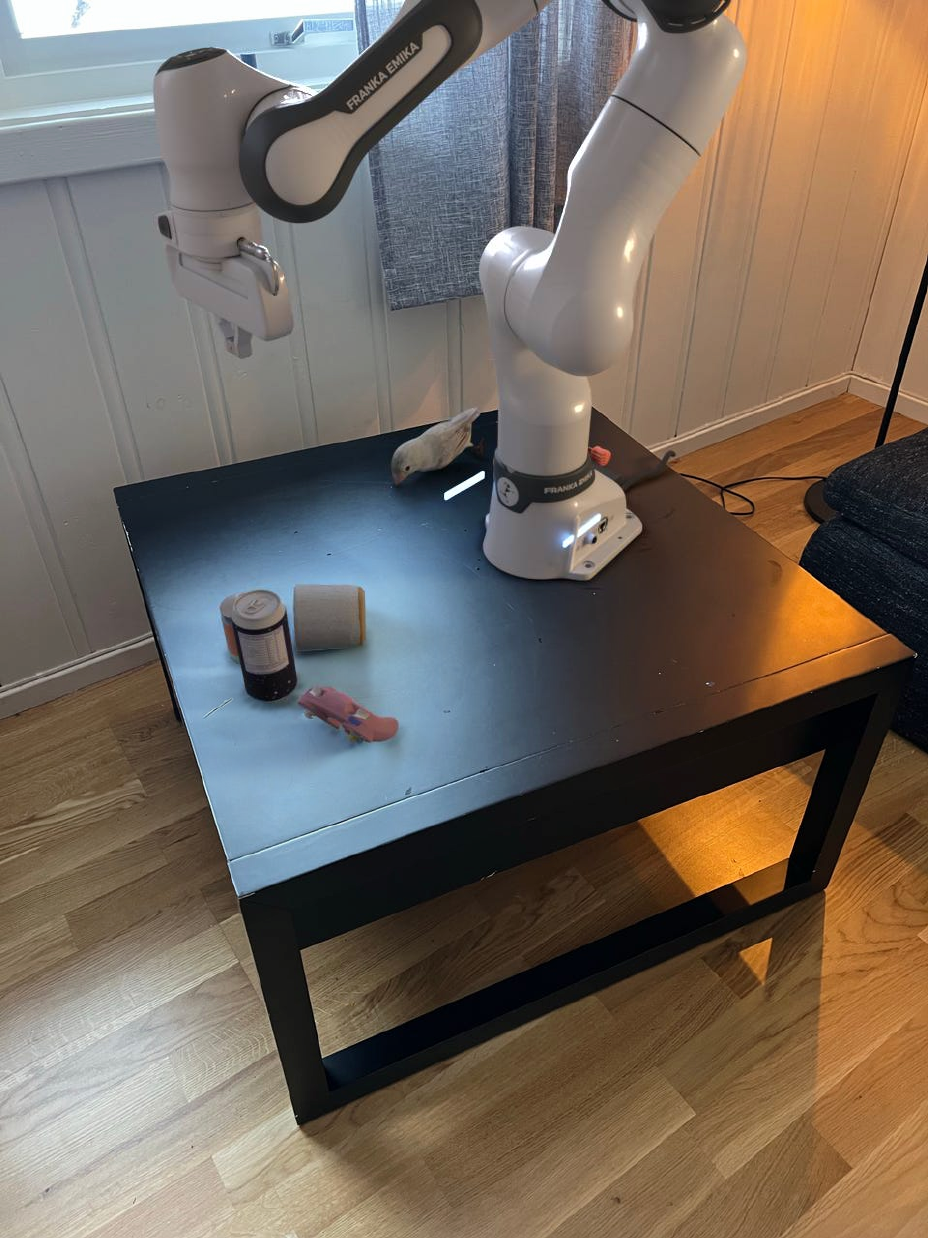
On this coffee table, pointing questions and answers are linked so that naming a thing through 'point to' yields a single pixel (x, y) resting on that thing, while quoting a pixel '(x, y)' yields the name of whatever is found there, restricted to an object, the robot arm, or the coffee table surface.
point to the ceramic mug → (328, 616)
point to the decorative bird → (435, 446)
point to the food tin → (229, 626)
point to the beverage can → (264, 645)
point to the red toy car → (347, 715)
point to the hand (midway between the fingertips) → (239, 353)
